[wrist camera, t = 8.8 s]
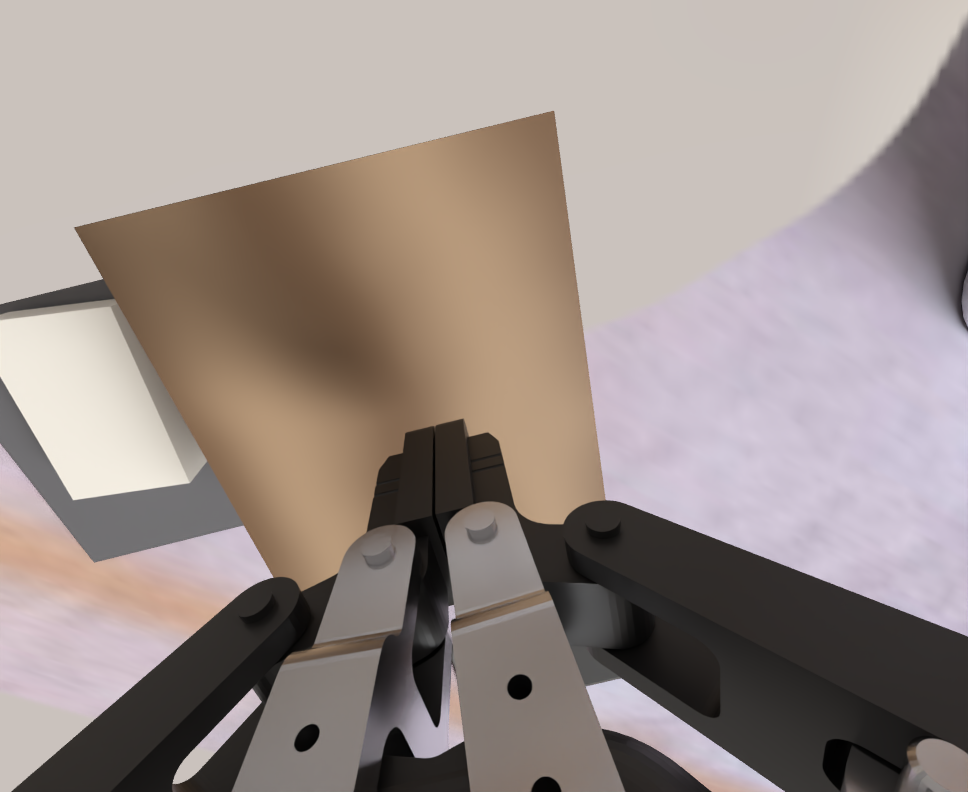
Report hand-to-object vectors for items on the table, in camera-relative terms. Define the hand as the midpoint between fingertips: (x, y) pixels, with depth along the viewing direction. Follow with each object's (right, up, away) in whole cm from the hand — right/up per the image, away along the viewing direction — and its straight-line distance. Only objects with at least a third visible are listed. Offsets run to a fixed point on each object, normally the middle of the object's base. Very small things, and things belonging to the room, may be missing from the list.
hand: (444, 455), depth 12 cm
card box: (-15, +1, +7) cm, 17 cm away
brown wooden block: (-3, +4, +10) cm, 11 cm away
